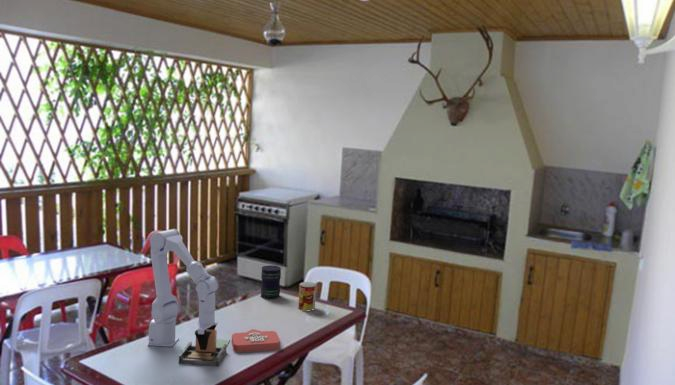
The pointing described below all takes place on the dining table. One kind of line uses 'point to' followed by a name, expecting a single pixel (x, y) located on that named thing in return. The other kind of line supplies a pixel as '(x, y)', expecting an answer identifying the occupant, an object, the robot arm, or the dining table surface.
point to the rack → (189, 349)
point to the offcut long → (200, 357)
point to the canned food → (307, 296)
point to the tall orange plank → (209, 342)
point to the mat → (221, 343)
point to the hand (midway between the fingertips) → (205, 345)
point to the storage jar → (270, 282)
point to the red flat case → (255, 341)
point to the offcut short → (201, 354)
